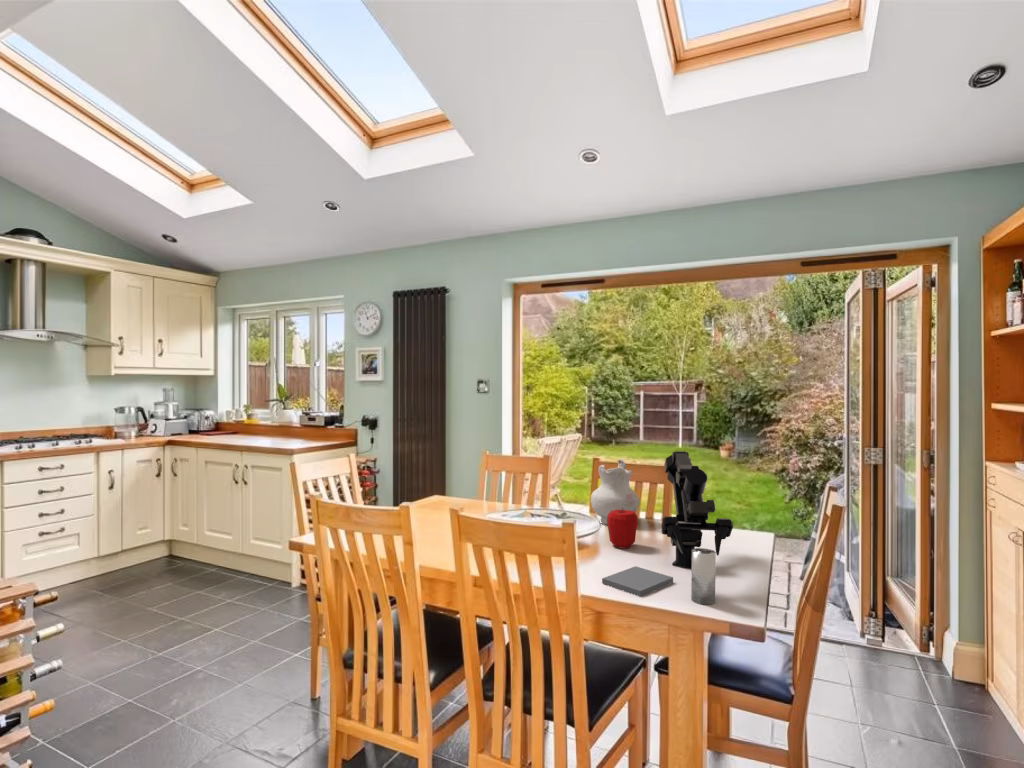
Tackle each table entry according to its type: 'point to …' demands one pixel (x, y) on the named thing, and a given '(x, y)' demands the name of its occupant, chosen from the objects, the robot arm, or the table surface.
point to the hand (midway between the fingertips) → (700, 554)
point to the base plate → (637, 580)
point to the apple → (622, 527)
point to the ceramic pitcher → (614, 492)
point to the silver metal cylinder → (703, 576)
